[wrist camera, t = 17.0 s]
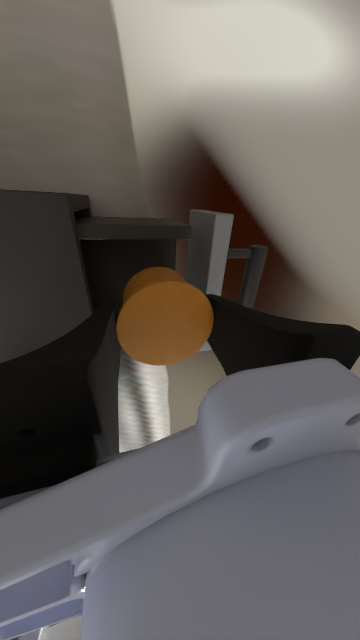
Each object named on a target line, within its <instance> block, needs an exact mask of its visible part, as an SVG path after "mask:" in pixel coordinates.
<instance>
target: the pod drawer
mask: <svg viewBox="0 0 360 640" xmlns="http://www.w3.org/2000/svg"><path fill="white" fill-rule="evenodd" d="M75 221H76V226H77V230H78V235H79V240H80V245H81V250H82V255H83V260H84V265H85V270H86V275H87V280H88V285H89V290H90V294H91V299H92V304H93V309H94V311H95V310H96V309H97V308H98V307H99V306H100V305H101V304H102V303H103V302H104V301H108V300H117V305H118V313H119V310H120V308H121V307H122V299H123V292H124V289H125V287H126V285H127V283H128V282H129V280H130V279H131V278H132V277H133V276H134V275H136V274H137V273H138V272H140V271H142V270H144V269H147V268H151V267H166V268H170V269H172V270H174V271H175V257H176V240H188V252H187V267H186V281H187V283H189V284H192V285H193V286H195V287H197V288H198V289H199V290H201V291H202V292H203V294H215V295H218V296H221V290H222V283H223V278H224V271H225V265H226V259H227V258H247V261H246V266H245V270H244V275H243V280H242V284H241V289H240V293H239V298H238V304H240V305H243V306H245V307H248V308H251V309H253V305H254V301H255V297H256V294H257V290H258V286H259V282H260V279H261V275H262V271H263V267H264V263H265V260H266V256H267V252H268V247H267V246H262V245H250V247H249V249H228V247H229V240H230V235H231V229H232V223H233V214H226V213H220V212H213V211H206V210H190V221H189V225H187V224H185V223H183V222H180V221H178V220H175V219H155V218H125V217H93V216H75ZM211 349H212V348H211V347H210V345H209V343H208V342H207V341H206V342H205V344H204V345H203V346H202V347H201V348H200V349H199V351H204V350H211ZM121 353H126V352H125V351H124V350H123V348H122V347H121Z"/></svg>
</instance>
